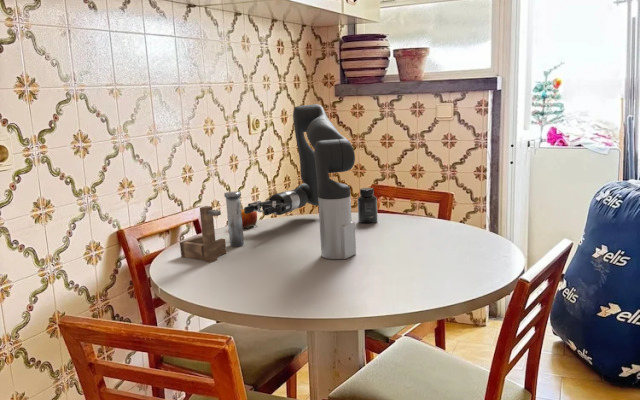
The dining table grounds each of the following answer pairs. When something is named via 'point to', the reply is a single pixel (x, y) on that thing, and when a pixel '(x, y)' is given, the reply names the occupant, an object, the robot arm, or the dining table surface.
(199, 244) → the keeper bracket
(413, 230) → the dining table surface
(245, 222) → the fruit
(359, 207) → the supplement bottle
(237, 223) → the pin
